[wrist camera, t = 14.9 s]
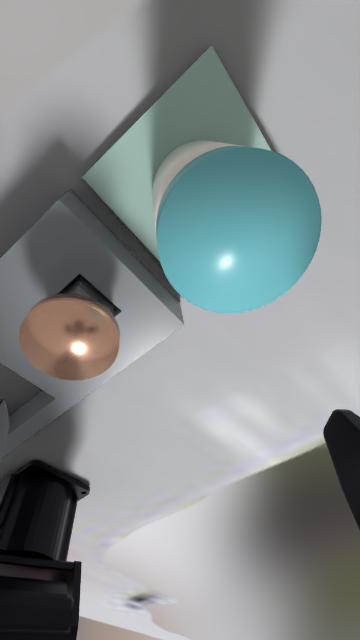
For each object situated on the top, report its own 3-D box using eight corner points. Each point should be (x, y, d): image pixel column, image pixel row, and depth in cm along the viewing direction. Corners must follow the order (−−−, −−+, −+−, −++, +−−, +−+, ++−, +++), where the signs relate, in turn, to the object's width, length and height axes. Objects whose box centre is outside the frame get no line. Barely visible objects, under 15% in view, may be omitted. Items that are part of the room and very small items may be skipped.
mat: (302, 210, 18) (306, 212, 17) (192, 294, 20) (193, 298, 19) (209, 47, 14) (211, 44, 13) (83, 175, 16) (81, 177, 15)
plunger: (140, 292, 19) (138, 346, 15) (91, 332, 21) (75, 394, 16) (86, 239, 17) (63, 281, 13) (35, 287, 19) (-3, 342, 14)
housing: (180, 303, 20) (183, 324, 18) (7, 435, 25) (-6, 463, 23) (70, 189, 16) (58, 198, 14) (-111, 373, 21) (-140, 401, 19)
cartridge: (246, 133, 15) (331, 135, 8) (247, 235, 18) (312, 301, 11) (144, 148, 15) (143, 162, 8) (160, 248, 18) (170, 323, 11)
